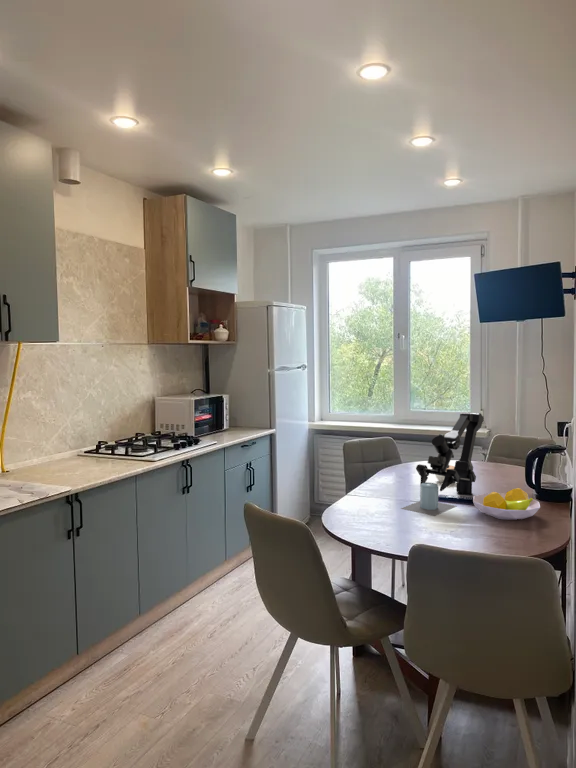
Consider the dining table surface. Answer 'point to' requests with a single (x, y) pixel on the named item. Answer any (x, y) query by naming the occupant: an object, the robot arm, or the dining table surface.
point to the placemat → (439, 510)
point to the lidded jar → (441, 478)
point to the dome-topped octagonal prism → (429, 496)
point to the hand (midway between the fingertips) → (430, 488)
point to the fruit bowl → (507, 504)
